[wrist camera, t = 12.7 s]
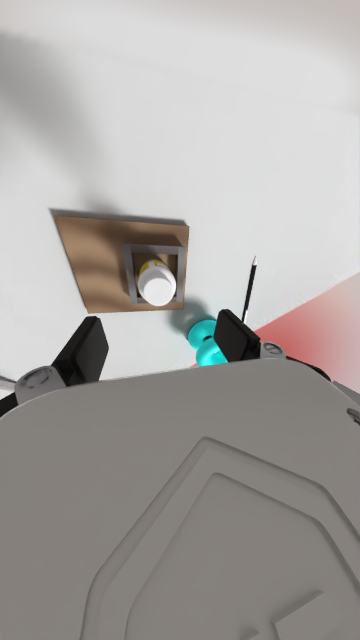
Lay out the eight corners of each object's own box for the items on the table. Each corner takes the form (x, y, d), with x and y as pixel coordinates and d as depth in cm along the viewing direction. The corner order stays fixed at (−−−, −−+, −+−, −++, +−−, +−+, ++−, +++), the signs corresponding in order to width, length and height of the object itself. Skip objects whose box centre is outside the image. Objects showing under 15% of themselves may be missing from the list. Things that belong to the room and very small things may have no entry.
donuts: (192, 354, 27) (238, 335, 27) (182, 326, 36) (217, 312, 35) (203, 379, 33) (241, 364, 33) (192, 350, 41) (222, 338, 41)
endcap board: (58, 216, 20) (42, 213, 17) (187, 226, 24) (193, 225, 21) (90, 310, 29) (83, 320, 26) (182, 306, 32) (185, 314, 29)
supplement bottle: (143, 289, 27) (141, 314, 19) (136, 259, 24) (130, 273, 16) (170, 285, 28) (180, 308, 19) (167, 256, 25) (177, 268, 16)
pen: (240, 326, 40) (242, 328, 39) (252, 256, 30) (256, 257, 29) (242, 325, 40) (245, 327, 39) (256, 256, 30) (260, 256, 29)
